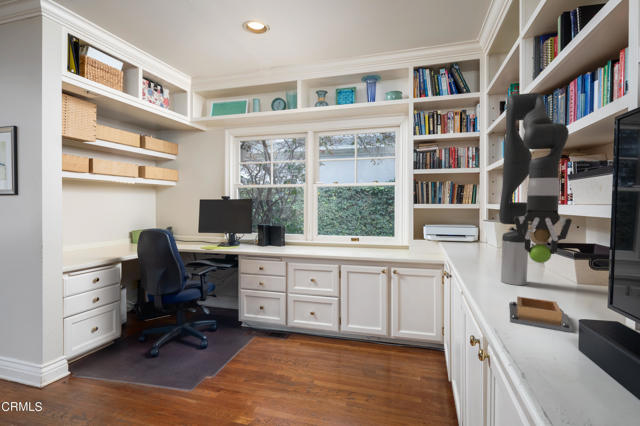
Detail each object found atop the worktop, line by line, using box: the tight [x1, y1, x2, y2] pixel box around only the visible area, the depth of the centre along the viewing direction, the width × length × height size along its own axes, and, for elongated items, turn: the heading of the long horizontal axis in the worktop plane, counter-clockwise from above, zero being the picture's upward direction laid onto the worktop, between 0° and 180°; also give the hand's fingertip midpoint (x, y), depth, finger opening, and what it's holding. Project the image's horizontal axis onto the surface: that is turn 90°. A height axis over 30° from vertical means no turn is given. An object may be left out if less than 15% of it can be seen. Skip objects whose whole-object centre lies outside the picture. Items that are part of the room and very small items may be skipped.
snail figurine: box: [528, 221, 552, 264], centre depth 93 cm, size 5×6×12 cm
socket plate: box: [508, 296, 573, 333], centre depth 94 cm, size 16×14×4 cm
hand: (540, 252), depth 93 cm, fingers closed on snail figurine, 5 cm apart
